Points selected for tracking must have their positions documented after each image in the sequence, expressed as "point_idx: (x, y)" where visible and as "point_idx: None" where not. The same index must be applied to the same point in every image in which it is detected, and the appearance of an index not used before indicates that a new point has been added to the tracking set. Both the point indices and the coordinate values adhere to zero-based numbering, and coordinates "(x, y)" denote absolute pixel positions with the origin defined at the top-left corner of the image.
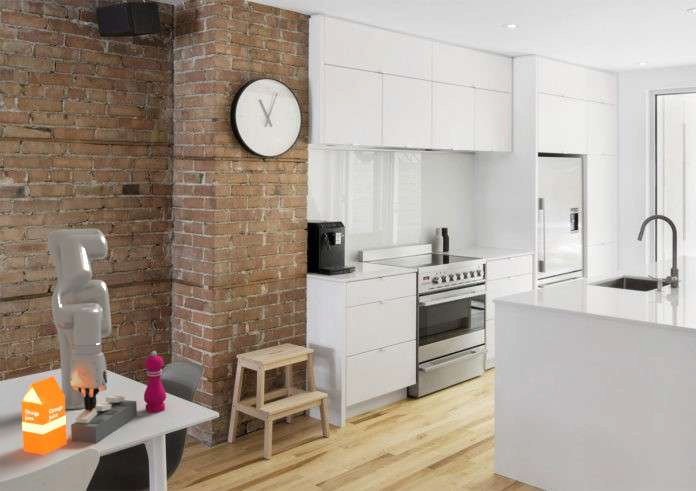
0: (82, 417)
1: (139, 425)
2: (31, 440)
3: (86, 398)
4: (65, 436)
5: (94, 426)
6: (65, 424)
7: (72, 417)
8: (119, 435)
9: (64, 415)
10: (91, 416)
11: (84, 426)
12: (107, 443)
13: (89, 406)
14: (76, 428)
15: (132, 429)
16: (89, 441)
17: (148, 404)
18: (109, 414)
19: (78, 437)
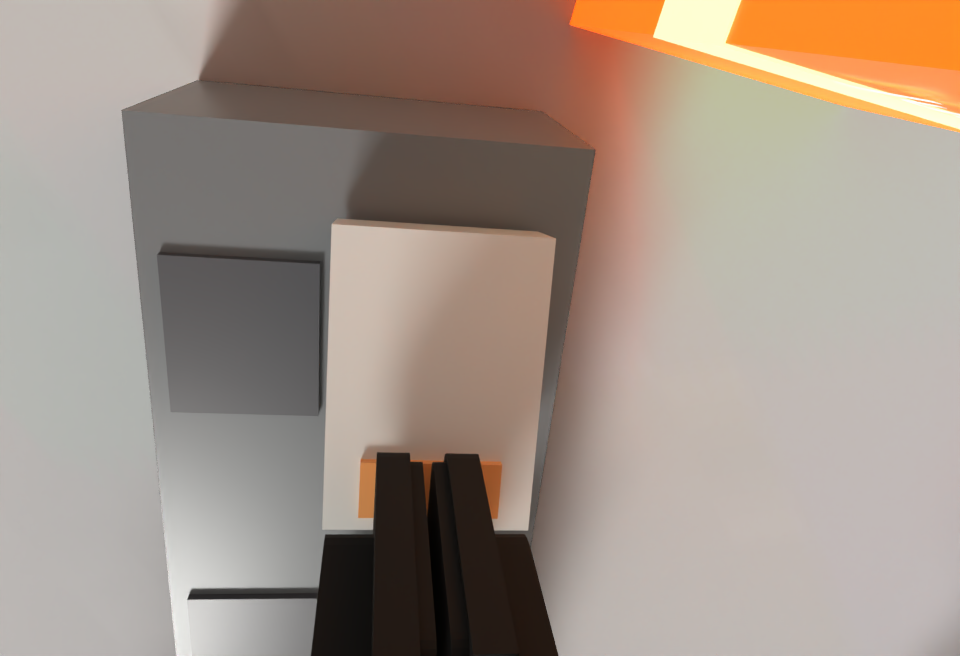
0: (448, 274)
1: (58, 618)
2: None
3: (465, 634)
4: (599, 10)
5: (155, 127)
6: (656, 30)
7: (783, 652)
8: (80, 359)
9: (739, 9)
10: (328, 360)
11: (346, 126)
12: (50, 100)
13: (379, 493)
14: (491, 131)
15: (55, 524)
16: (293, 92)
17: None
18: (245, 594)
19: (452, 110)
